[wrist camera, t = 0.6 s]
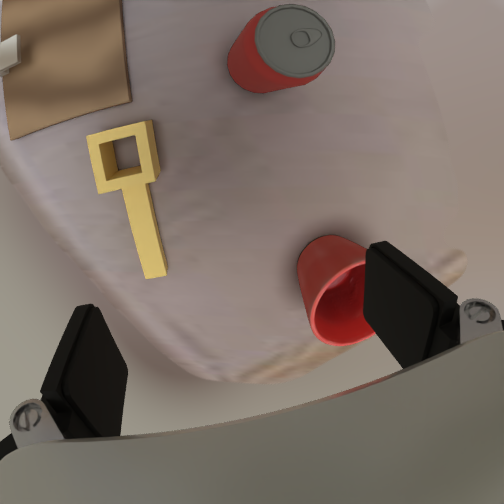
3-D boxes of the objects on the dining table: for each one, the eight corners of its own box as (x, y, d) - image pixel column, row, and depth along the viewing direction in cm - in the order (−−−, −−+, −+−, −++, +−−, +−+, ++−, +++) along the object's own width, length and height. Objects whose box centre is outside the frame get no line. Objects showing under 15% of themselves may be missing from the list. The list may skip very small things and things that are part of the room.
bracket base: (10, -24, 16) (-17, -40, 9) (120, -67, 17) (109, -97, 11) (17, 138, 25) (-18, 148, 19) (132, 101, 27) (116, 99, 21)
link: (101, 132, 28) (86, 136, 23) (151, 119, 28) (144, 121, 24) (135, 272, 35) (129, 296, 30) (180, 264, 35) (179, 287, 31)
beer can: (300, 80, 29) (355, 69, 18) (242, 103, 29) (271, 99, 19) (275, 26, 26) (319, -11, 15) (215, 47, 26) (230, 12, 15)
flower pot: (360, 290, 42) (395, 333, 33) (284, 306, 41) (309, 356, 32) (366, 218, 37) (412, 251, 29) (282, 229, 36) (312, 270, 27)
